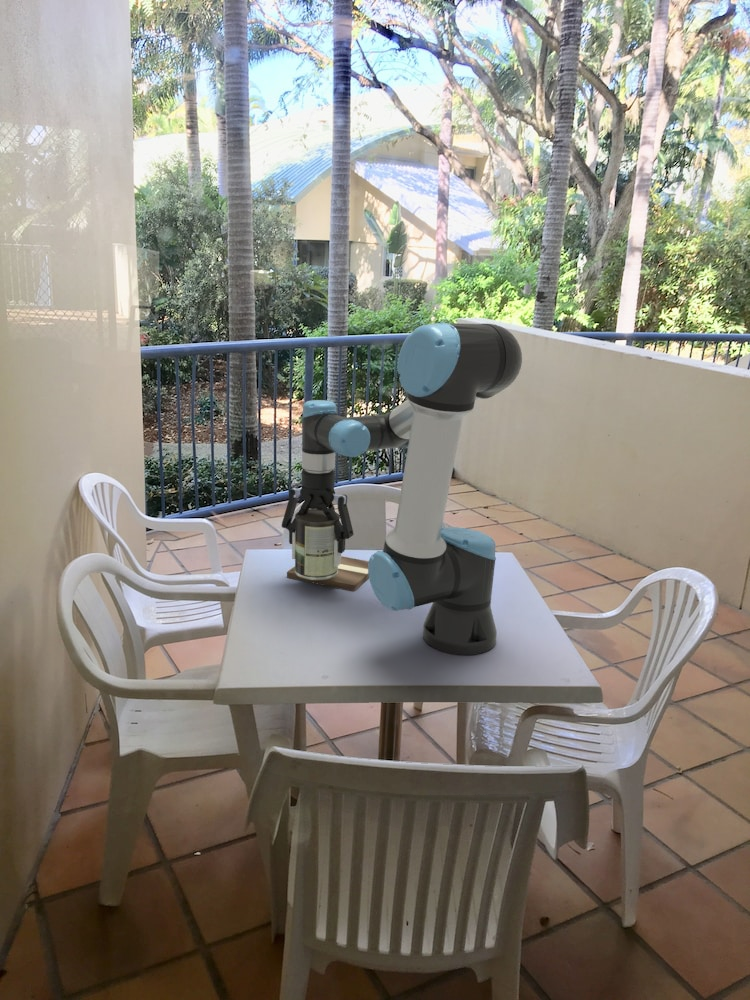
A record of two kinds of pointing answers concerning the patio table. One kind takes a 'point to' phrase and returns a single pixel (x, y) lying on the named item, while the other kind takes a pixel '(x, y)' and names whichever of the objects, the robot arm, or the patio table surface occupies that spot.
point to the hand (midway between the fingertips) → (316, 561)
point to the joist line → (353, 569)
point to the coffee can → (315, 545)
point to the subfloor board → (341, 575)
